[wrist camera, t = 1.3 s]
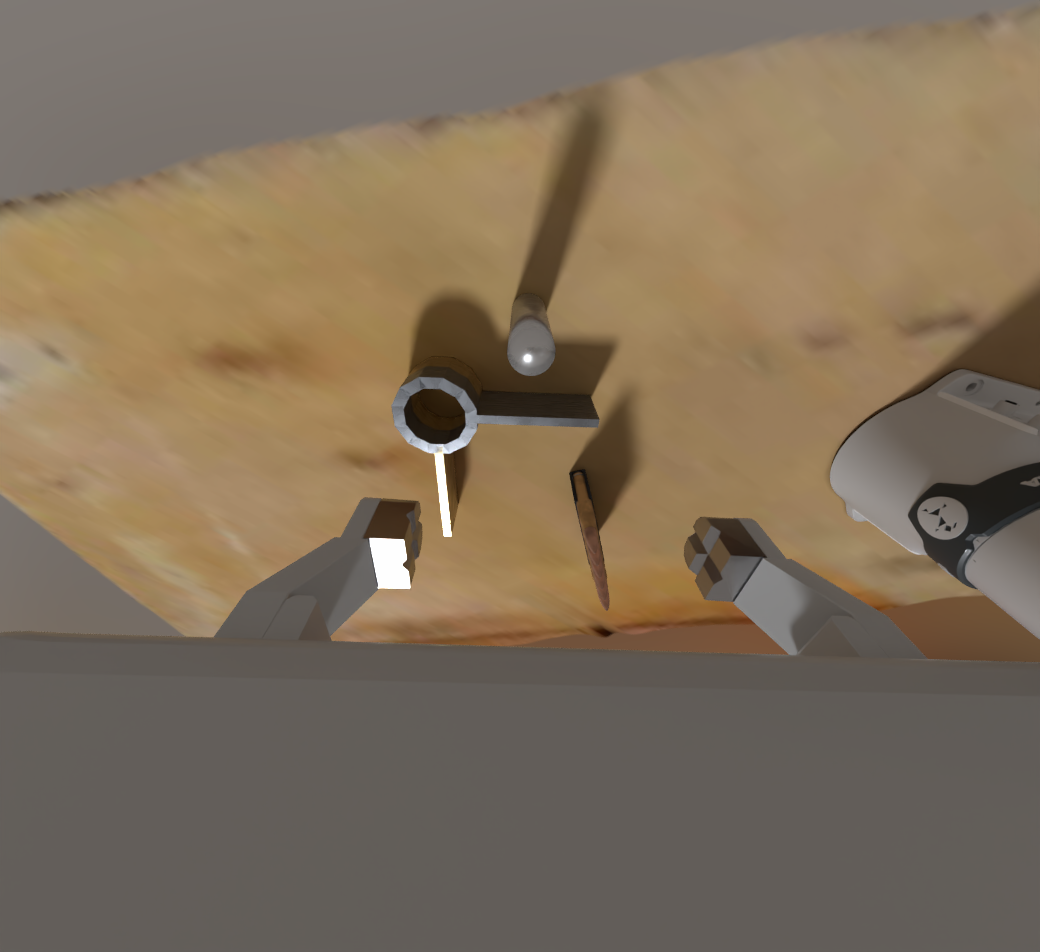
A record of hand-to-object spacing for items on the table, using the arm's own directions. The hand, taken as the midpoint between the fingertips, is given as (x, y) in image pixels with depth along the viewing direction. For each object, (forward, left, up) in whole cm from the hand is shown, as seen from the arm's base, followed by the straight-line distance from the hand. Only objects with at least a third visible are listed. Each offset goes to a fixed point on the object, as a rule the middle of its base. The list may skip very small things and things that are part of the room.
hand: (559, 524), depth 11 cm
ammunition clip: (-8, +22, -28) cm, 36 cm away
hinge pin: (0, 0, -27) cm, 27 cm away
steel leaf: (+3, +8, -27) cm, 28 cm away
